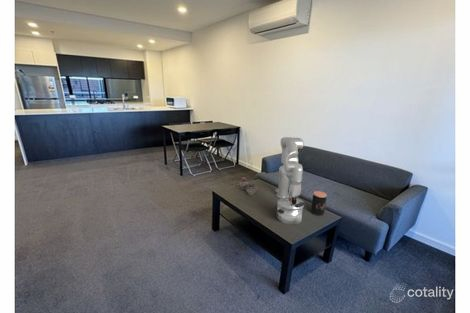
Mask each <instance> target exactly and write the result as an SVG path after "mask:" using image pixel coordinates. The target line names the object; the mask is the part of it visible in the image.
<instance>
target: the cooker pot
mask: <svg viewBox="0 0 470 313" xmlns="http://www.w3.org/2000/svg"><path fill="white" fill-rule="evenodd" d="M276 204H277V208H276V218H277V220H278V221H279V222H281V223H283V224H286V225H293V226H294V225H299V224H300V223H301V222H302V220H303V212H304V211H303V210H304V207H303V208H301V209H298V210H290V209H285V208H282V207H280V206H279V205H278V201H277V203H276Z"/></svg>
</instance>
